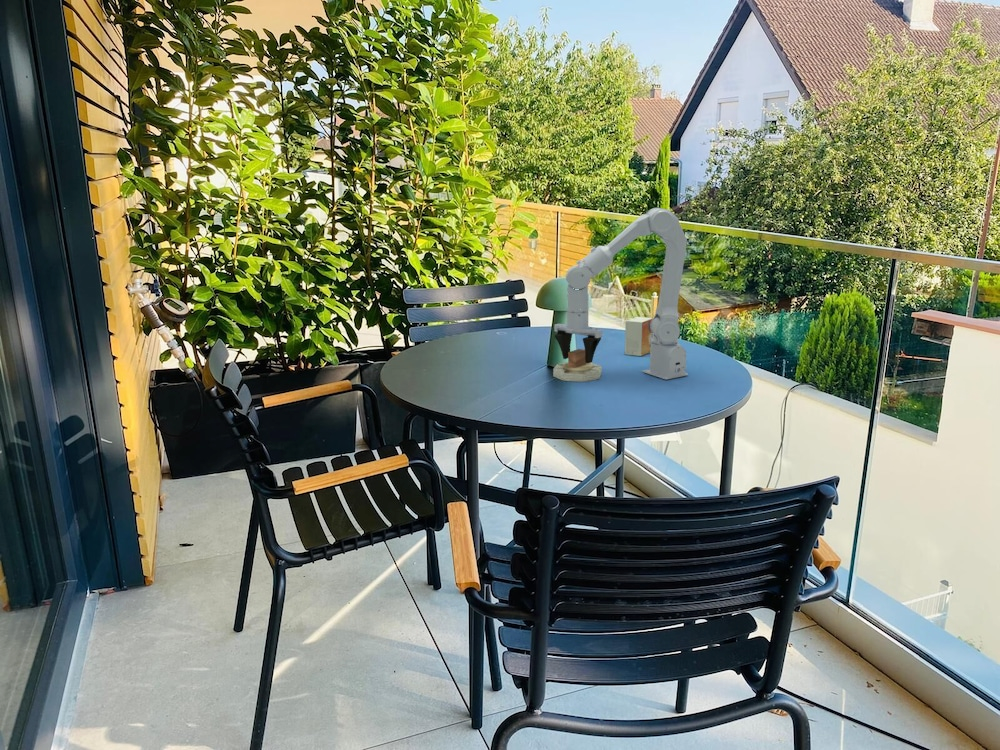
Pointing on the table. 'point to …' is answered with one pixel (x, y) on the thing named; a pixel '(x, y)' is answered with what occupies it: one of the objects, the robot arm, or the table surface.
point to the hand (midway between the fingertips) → (577, 360)
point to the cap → (577, 361)
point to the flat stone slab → (577, 373)
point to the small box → (638, 336)
